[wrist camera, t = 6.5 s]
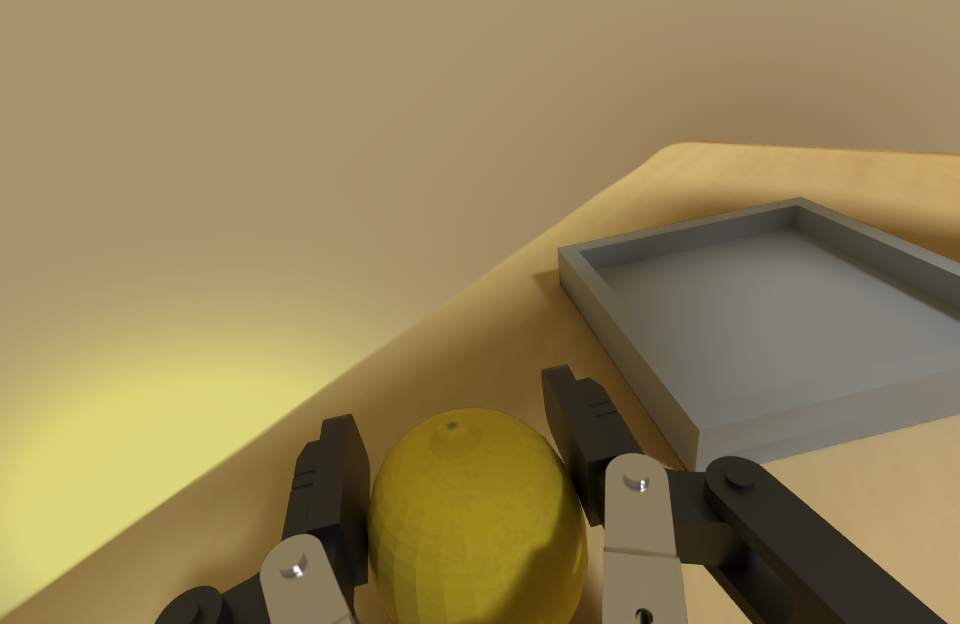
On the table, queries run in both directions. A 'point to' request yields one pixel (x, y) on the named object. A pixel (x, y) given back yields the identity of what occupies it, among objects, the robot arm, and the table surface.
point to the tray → (773, 328)
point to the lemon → (476, 525)
